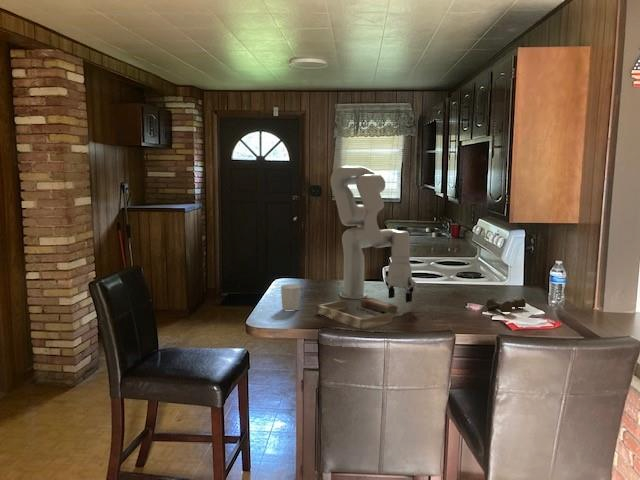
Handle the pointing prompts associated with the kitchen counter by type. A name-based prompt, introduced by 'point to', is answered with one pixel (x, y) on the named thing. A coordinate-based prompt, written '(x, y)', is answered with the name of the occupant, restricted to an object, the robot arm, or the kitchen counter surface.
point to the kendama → (505, 304)
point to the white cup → (290, 296)
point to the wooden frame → (354, 321)
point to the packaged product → (378, 307)
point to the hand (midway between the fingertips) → (400, 299)
